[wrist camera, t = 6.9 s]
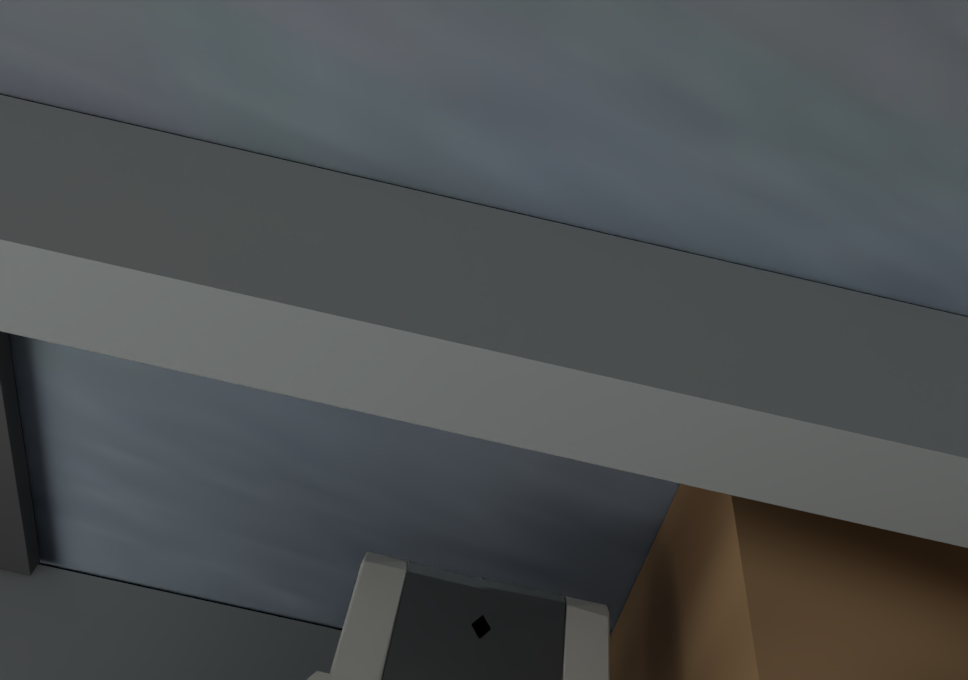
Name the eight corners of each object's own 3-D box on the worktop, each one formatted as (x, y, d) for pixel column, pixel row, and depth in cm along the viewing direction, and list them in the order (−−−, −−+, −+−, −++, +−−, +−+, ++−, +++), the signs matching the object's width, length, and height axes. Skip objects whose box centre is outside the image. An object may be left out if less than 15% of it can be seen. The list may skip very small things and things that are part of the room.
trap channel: (-335, 521, 15) (-487, 655, 13) (-618, -48, 9) (-950, 23, 7) (929, 796, 15) (979, 967, 13) (1314, 396, 10) (1493, 578, 8)
